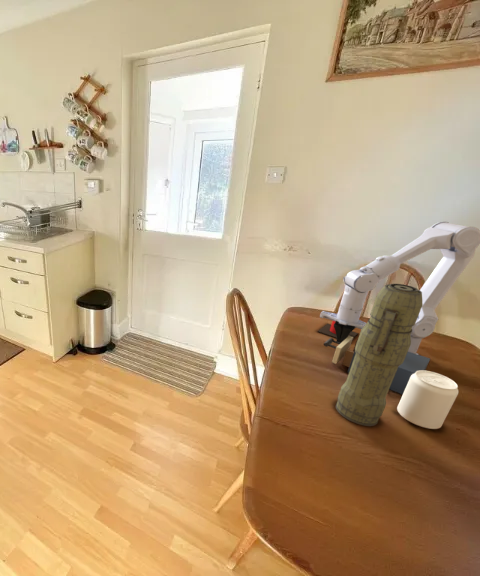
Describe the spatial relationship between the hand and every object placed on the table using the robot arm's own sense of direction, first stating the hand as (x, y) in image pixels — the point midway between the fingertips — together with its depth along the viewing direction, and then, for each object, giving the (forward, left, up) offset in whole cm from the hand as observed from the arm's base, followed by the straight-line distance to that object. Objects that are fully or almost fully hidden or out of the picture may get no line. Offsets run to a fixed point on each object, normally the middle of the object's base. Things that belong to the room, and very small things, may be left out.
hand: (339, 343), depth 106 cm
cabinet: (+5, +13, -3) cm, 15 cm away
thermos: (+30, +13, -4) cm, 33 cm away
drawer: (+5, +6, -3) cm, 8 cm away
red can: (-15, -5, -3) cm, 16 cm away
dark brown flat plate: (-15, -5, -3) cm, 16 cm away
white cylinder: (+20, +23, -4) cm, 31 cm away
